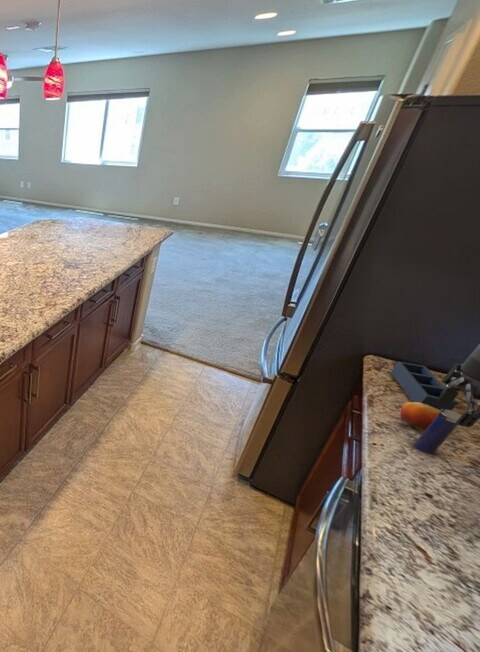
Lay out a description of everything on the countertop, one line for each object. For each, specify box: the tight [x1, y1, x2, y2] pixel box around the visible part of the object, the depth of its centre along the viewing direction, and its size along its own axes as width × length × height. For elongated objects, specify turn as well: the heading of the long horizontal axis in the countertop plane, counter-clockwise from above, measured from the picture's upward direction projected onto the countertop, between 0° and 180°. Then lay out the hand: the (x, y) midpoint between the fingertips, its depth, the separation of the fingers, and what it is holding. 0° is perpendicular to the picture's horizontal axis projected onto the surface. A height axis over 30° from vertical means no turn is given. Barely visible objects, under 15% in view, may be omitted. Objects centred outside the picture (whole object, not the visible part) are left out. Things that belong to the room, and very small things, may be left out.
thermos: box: [413, 409, 462, 455], centre depth 97 cm, size 4×4×12 cm
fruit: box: [399, 401, 440, 434], centre depth 105 cm, size 8×8×8 cm
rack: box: [390, 361, 459, 411], centre depth 117 cm, size 7×18×4 cm, turn 155°
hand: (452, 413), depth 93 cm, fingers open, 8 cm apart
